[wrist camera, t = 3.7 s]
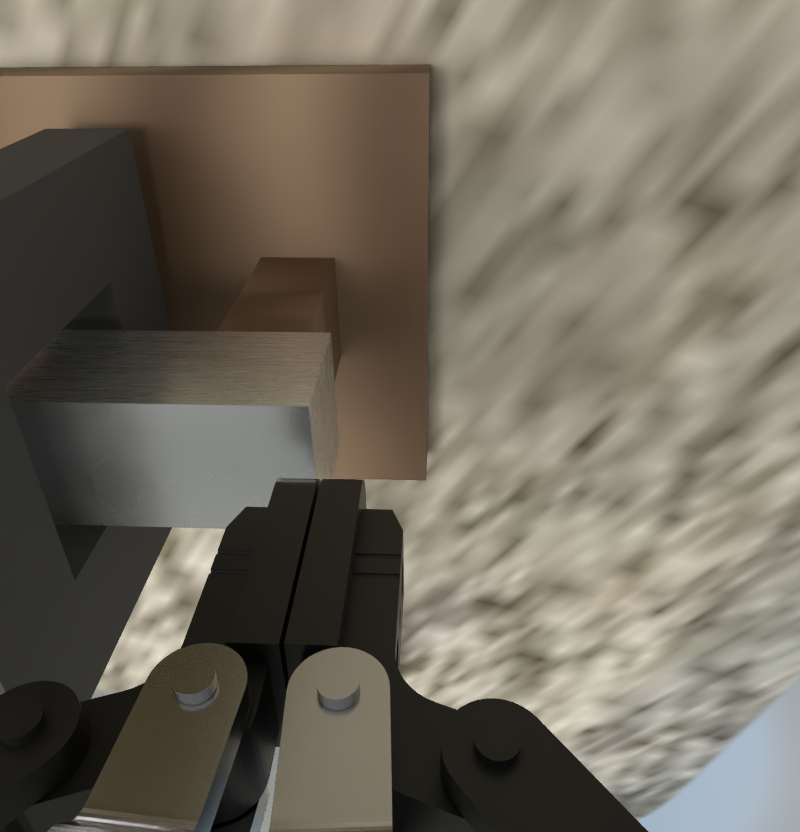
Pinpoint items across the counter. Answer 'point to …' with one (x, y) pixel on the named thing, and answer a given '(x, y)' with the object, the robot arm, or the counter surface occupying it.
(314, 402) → the grey square bar
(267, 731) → the robot arm
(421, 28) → the counter surface
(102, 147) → the dark grey flat piece
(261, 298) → the board
